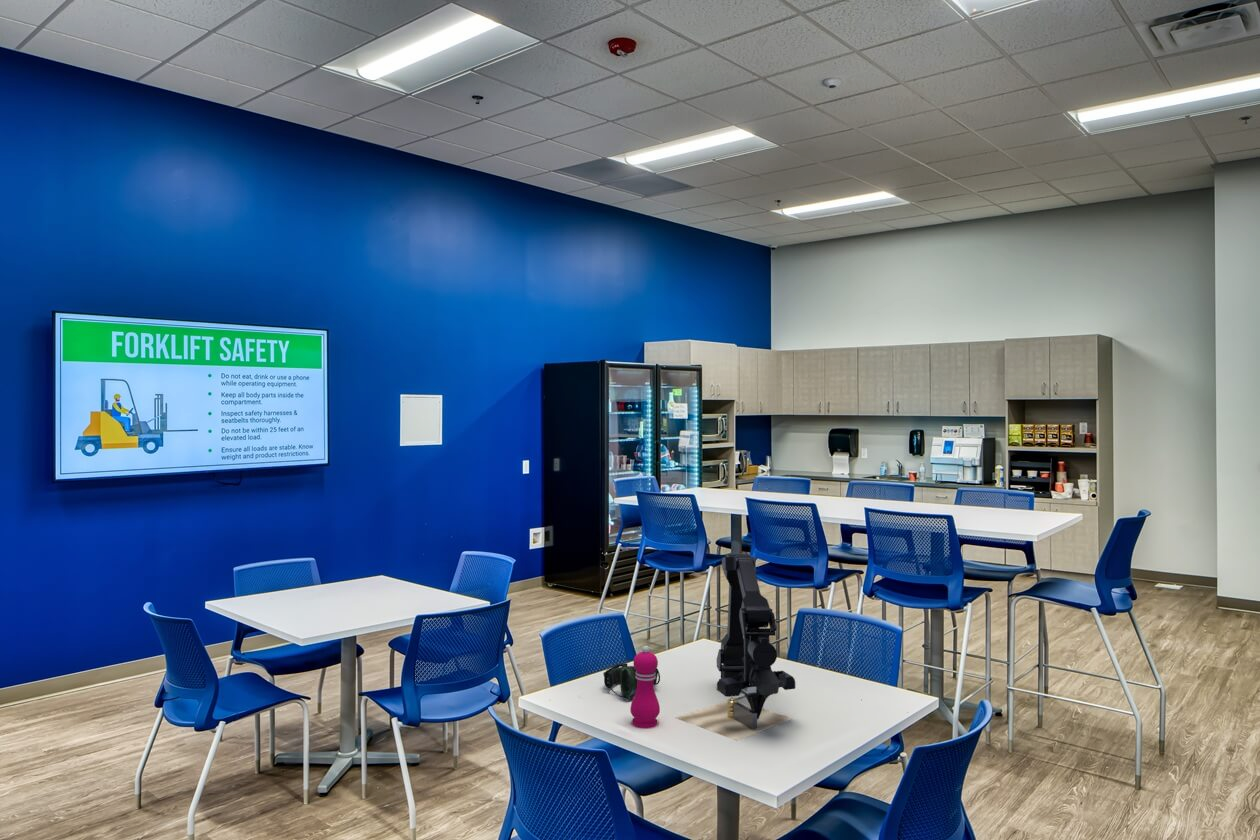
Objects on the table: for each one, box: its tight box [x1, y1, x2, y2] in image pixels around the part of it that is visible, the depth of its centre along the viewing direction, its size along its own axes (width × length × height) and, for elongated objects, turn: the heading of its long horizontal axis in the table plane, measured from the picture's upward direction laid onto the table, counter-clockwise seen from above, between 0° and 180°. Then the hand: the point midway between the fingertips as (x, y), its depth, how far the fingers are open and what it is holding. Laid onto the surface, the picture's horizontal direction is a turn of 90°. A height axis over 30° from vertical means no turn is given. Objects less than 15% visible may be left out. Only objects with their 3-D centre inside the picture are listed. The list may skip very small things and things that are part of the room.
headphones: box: [603, 662, 661, 701], centre depth 229 cm, size 13×13×20 cm
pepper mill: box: [629, 645, 661, 729], centre depth 201 cm, size 7×7×20 cm
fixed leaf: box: [727, 694, 752, 718], centre depth 210 cm, size 11×2×4 cm, turn 133°
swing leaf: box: [728, 702, 757, 729], centre depth 202 cm, size 11×2×4 cm, turn 25°
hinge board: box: [674, 699, 794, 741], centre depth 206 cm, size 20×22×1 cm
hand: (756, 718), depth 200 cm, fingers closed
